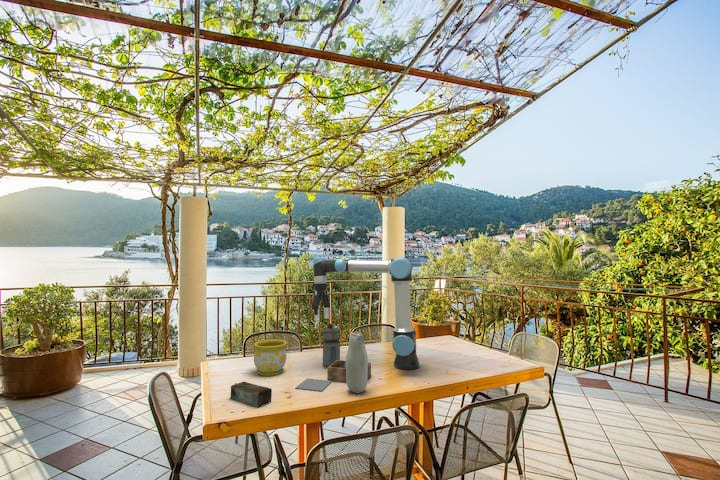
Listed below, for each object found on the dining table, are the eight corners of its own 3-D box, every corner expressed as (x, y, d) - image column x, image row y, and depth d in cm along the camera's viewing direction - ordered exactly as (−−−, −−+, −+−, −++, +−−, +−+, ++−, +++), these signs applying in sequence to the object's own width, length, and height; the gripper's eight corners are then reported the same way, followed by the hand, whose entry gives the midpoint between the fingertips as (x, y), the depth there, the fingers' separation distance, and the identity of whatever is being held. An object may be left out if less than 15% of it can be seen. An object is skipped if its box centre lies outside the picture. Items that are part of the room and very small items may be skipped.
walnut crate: (371, 375, 190) (371, 362, 191) (364, 384, 177) (364, 370, 177) (336, 372, 196) (336, 359, 196) (327, 380, 182) (327, 367, 183)
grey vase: (371, 391, 168) (371, 332, 170) (357, 397, 160) (357, 335, 162) (355, 386, 175) (356, 329, 176) (341, 392, 167) (342, 332, 169)
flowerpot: (254, 368, 203) (255, 340, 204) (286, 366, 207) (286, 338, 208) (251, 378, 186) (252, 347, 186) (286, 376, 189) (286, 345, 190)
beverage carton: (244, 393, 166) (244, 379, 166) (272, 402, 155) (272, 387, 156) (229, 399, 159) (230, 384, 159) (258, 408, 149) (258, 393, 149)
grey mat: (332, 382, 181) (332, 380, 181) (321, 391, 167) (321, 390, 167) (307, 379, 184) (307, 378, 184) (295, 388, 171) (295, 387, 171)
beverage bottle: (337, 362, 215) (337, 321, 217) (341, 369, 202) (342, 325, 204) (320, 363, 212) (321, 322, 214) (324, 370, 200) (324, 326, 201)
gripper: (323, 283, 222) (324, 317, 218) (305, 283, 198) (306, 321, 195) (334, 283, 219) (335, 317, 216) (317, 282, 196) (318, 321, 193)
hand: (322, 319), depth 206 cm, fingers open, 13 cm apart
